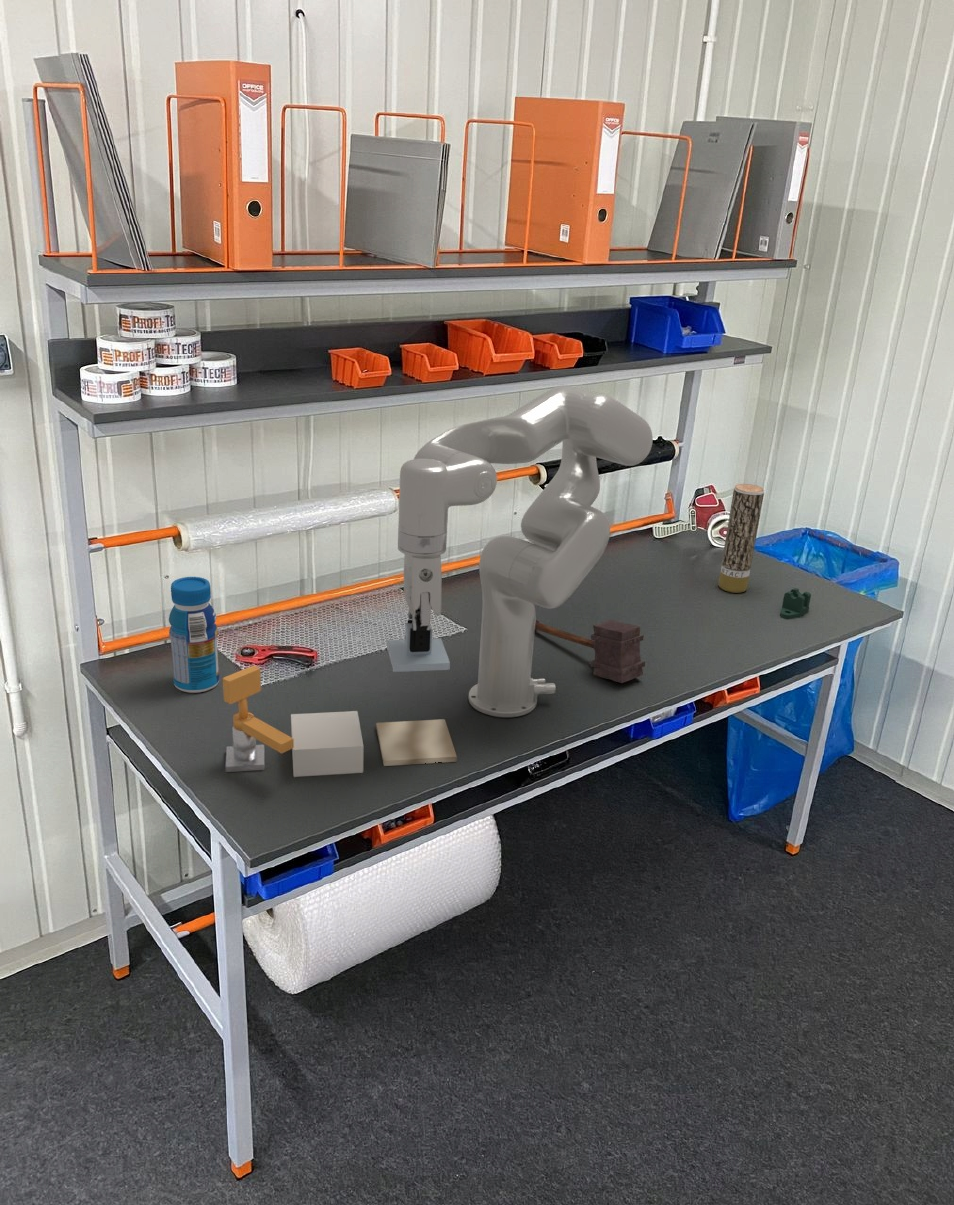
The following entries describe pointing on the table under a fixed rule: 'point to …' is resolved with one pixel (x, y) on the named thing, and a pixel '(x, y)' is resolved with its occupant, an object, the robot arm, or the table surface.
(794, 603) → the mount
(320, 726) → the housing
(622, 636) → the hammer
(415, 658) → the cover
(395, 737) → the pad
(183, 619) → the beverage bottle
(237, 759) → the grey square flange base
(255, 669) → the latch
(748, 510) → the paper tube
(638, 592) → the table surface
